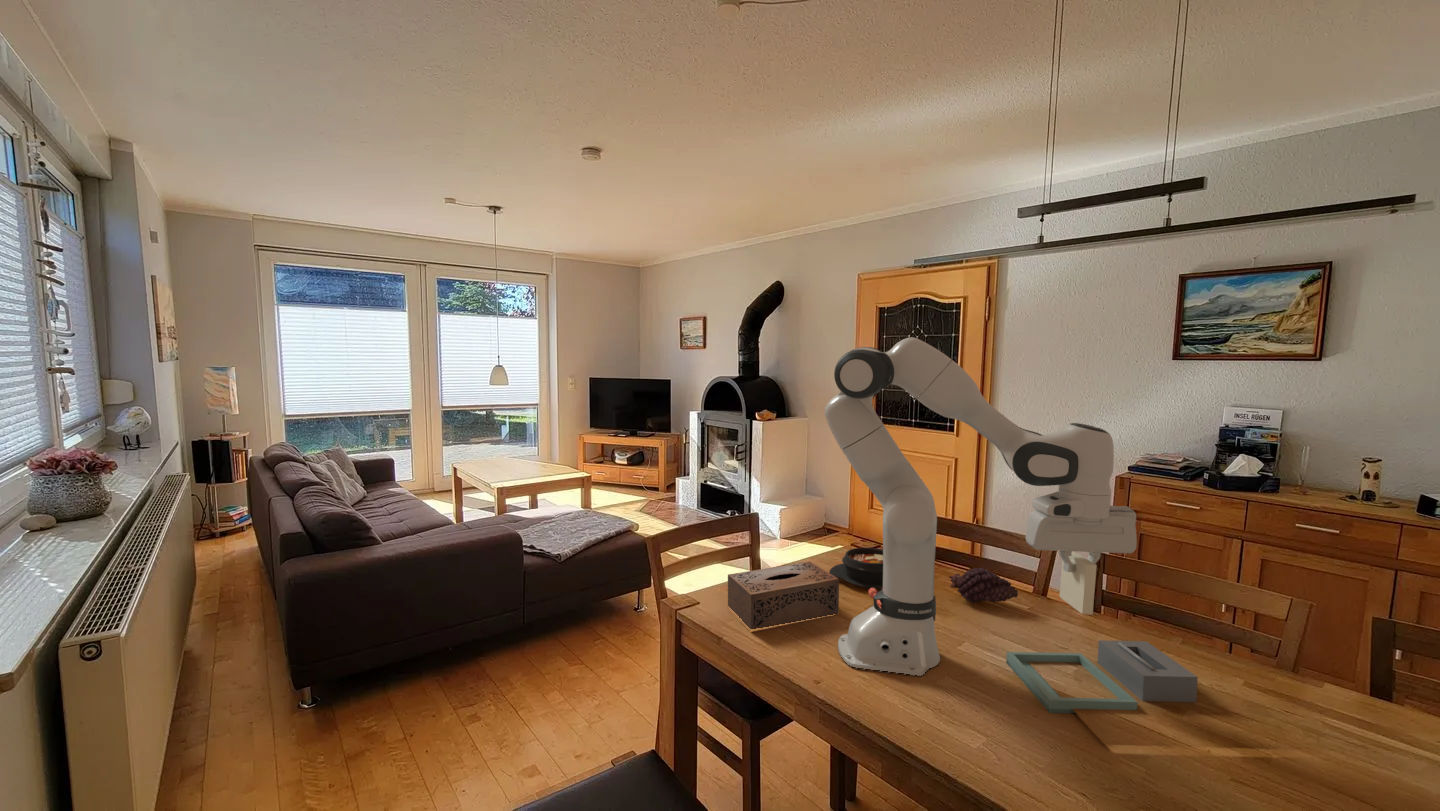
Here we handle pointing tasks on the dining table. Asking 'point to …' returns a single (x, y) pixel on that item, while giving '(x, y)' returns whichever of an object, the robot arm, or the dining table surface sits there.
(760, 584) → the tissue box cover
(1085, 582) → the cream flat slab
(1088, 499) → the robot arm
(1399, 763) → the dining table surface
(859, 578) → the casserole
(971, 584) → the pine cone
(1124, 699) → the teal flat frame
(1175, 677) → the holder
